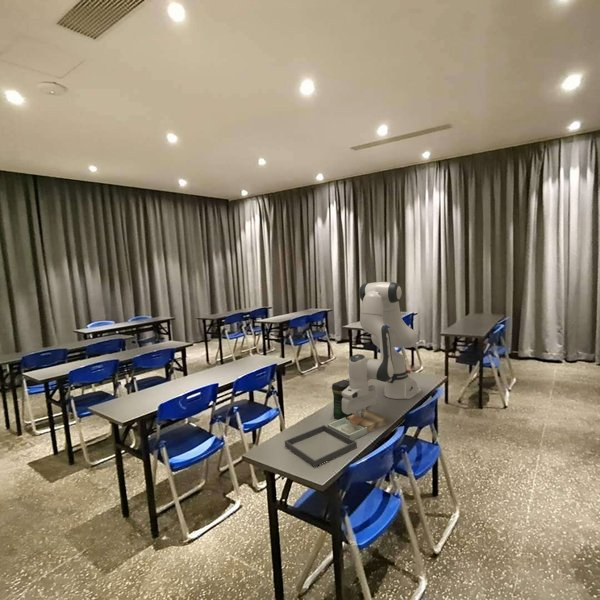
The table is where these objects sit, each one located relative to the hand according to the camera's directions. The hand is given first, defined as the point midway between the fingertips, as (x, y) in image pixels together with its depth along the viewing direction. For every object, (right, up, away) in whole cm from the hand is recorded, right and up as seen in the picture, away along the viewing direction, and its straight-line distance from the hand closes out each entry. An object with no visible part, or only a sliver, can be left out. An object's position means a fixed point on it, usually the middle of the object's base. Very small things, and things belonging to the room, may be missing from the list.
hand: (361, 417), depth 172 cm
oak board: (+3, -4, +3) cm, 6 cm away
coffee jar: (-7, -4, +13) cm, 15 cm away
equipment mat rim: (-20, -8, -16) cm, 27 cm away
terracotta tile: (-3, -2, -1) cm, 4 cm away
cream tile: (-7, -3, -5) cm, 9 cm away
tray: (-7, -5, -4) cm, 10 cm away
